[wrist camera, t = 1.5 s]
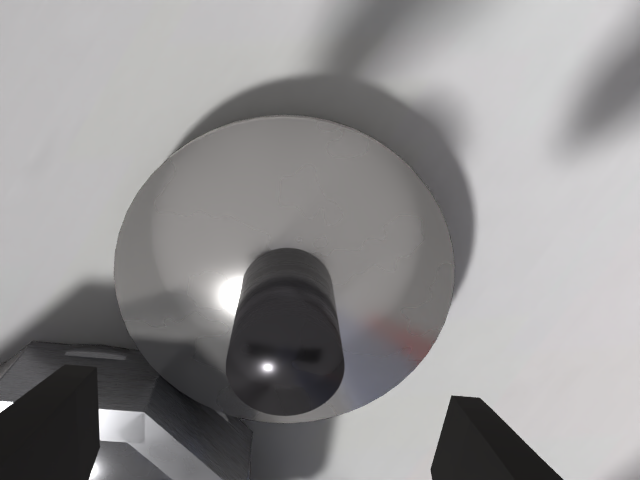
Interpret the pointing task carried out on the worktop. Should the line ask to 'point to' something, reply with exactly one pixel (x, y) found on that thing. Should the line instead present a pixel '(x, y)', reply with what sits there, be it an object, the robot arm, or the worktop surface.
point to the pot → (139, 416)
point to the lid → (284, 269)
